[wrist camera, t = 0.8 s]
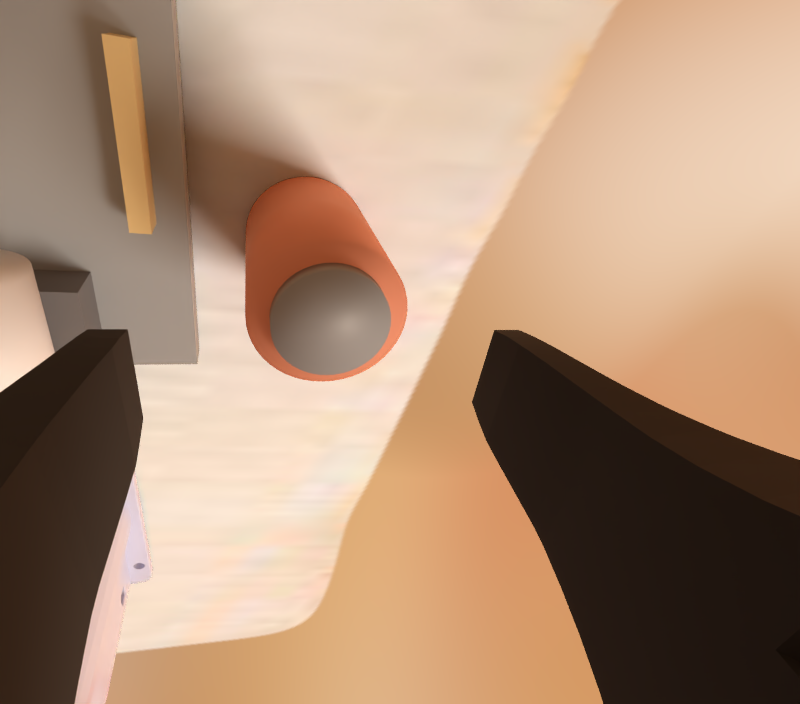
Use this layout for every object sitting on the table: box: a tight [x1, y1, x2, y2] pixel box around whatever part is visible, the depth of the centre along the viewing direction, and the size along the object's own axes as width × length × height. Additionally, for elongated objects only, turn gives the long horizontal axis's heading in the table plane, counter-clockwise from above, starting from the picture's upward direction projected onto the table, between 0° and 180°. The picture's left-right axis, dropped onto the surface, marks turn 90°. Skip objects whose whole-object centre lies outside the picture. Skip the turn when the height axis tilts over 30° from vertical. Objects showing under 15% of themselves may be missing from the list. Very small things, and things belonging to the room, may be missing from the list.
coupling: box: [245, 177, 407, 381], centre depth 15 cm, size 4×4×6 cm
